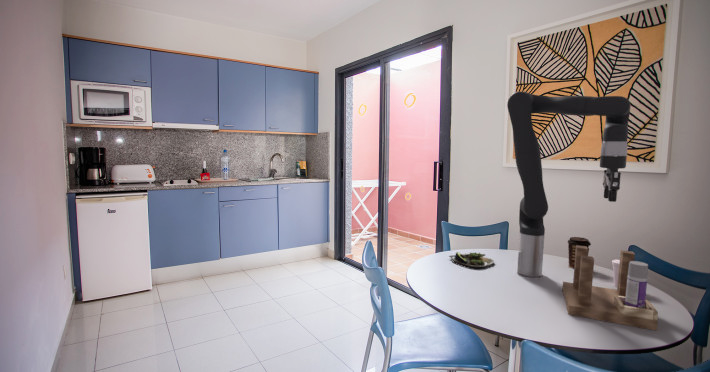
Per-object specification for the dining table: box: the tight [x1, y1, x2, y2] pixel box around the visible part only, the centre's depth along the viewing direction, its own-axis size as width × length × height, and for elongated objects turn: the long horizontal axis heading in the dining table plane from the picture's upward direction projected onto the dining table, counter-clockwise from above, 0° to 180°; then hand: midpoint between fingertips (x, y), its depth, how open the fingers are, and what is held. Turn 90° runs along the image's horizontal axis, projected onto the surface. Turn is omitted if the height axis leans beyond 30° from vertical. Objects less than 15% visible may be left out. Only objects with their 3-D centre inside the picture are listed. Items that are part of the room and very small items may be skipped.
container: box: [625, 260, 649, 309], centre depth 106 cm, size 5×5×15 cm
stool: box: [561, 245, 659, 332], centre depth 115 cm, size 22×22×18 cm
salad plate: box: [448, 251, 495, 270], centre depth 162 cm, size 19×18×5 cm
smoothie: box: [611, 259, 620, 288], centre depth 133 cm, size 6×6×14 cm
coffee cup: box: [567, 236, 592, 269], centre depth 154 cm, size 9×8×13 cm
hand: (609, 199), depth 126 cm, fingers open, 8 cm apart
